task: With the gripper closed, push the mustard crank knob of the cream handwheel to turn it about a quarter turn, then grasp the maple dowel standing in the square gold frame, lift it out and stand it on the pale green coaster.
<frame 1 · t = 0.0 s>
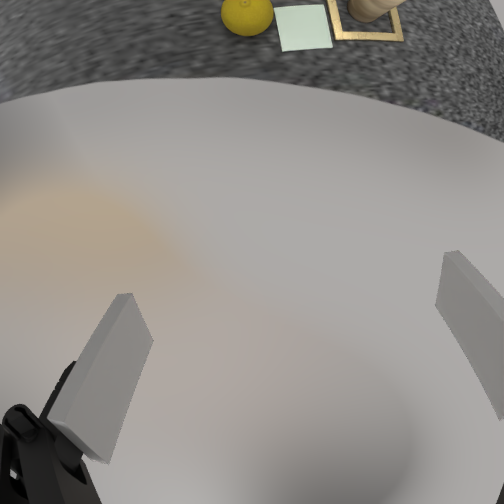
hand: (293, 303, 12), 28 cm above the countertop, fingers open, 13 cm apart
lemon: (249, 22, 29), on the countertop
square gold frame: (362, 9, 27), on the countertop
dowel: (362, 9, 27), resting in square gold frame
coaster: (303, 27, 29), on the countertop
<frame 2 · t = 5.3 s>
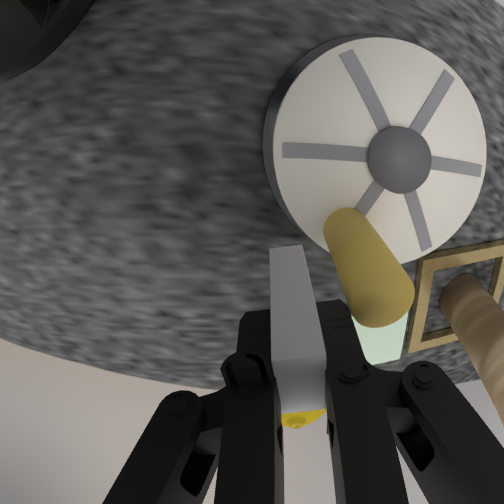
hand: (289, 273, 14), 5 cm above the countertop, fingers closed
lemon: (290, 333, 23), on the countertop
square gold frame: (459, 295, 20), on the countertop
wheel base: (376, 147, 16), on the countertop
handwheel: (416, 168, 11), point 5 cm above the countertop, hinge at 0.1°, touching gripper
dowel: (459, 295, 20), resting in square gold frame
coaster: (368, 338, 22), on the countertop
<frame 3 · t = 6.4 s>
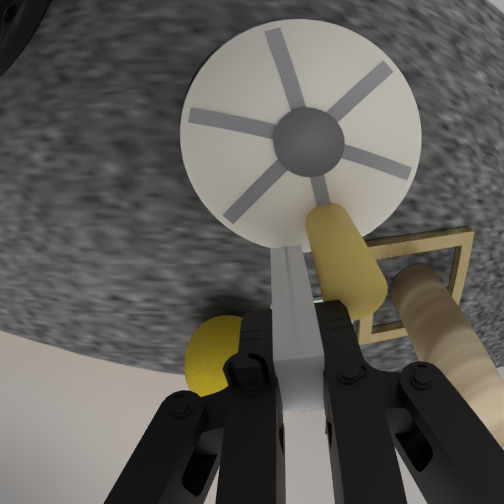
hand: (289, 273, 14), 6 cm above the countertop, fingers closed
lemon: (232, 319, 23), on the countertop
square gold frame: (413, 286, 21), on the countertop
wheel base: (300, 132, 16), on the countertop
handwheel: (314, 149, 12), point 5 cm above the countertop, hinge at 47.1°, touching gripper
dowel: (413, 286, 21), resting in square gold frame
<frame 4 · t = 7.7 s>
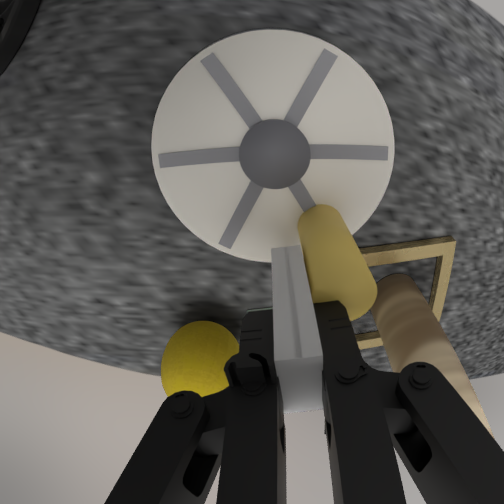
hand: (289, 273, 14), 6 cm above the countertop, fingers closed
lemon: (210, 325, 24), on the countertop
square gold frame: (392, 295, 21), on the countertop
handwheel: (275, 162, 12), point 5 cm above the countertop, hinge at 63.9°, touching gripper
dowel: (392, 295, 21), resting in square gold frame
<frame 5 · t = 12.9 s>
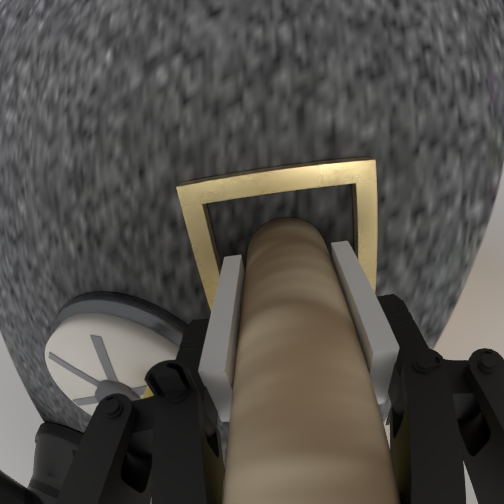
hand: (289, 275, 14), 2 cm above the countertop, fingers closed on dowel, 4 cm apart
square gold frame: (287, 253, 16), on the countertop
wheel base: (132, 363, 20), on the countertop
handwheel: (109, 420, 16), point 5 cm above the countertop, hinge at 58.3°
dowel: (286, 253, 16), resting in square gold frame, touching gripper
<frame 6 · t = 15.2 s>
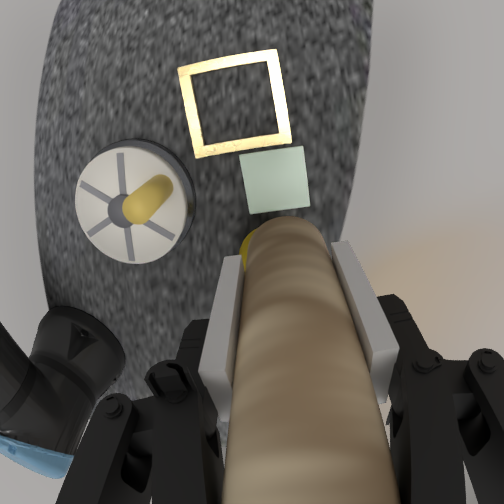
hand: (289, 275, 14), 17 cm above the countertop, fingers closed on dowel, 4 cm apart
square gold frame: (235, 102, 26), on the countertop
wheel base: (136, 199, 31), on the countertop
handwheel: (115, 218, 26), point 5 cm above the countertop, hinge at 58.3°
dowel: (286, 252, 16), point 15 cm above the countertop, touching gripper
coaster: (275, 179, 29), on the countertop
when the fingers open (4 cm above the countertop, at t = 17.7 s): dowel drops 1 cm, resting on coaster.
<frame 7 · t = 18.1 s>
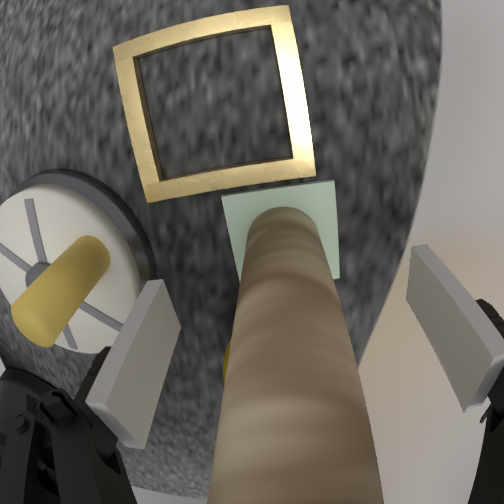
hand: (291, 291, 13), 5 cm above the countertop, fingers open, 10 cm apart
square gold frame: (213, 101, 14), on the countertop
wheel base: (72, 260, 19), on the countertop
handwheel: (31, 304, 14), point 5 cm above the countertop, hinge at 58.3°
dowel: (283, 240, 17), resting on coaster
coaster: (284, 236, 18), on the countertop
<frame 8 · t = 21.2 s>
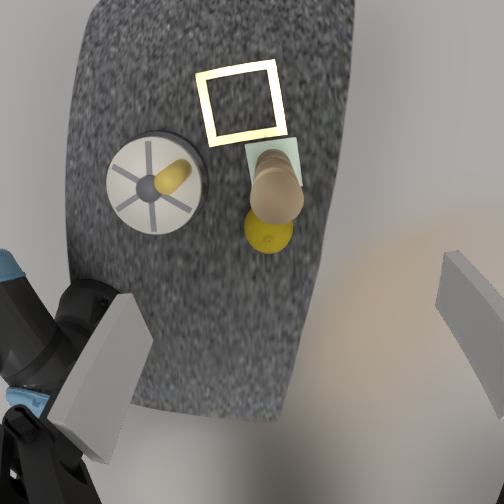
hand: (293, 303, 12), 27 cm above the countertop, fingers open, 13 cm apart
lemon: (268, 213, 39), on the countertop
square gold frame: (241, 102, 32), on the countertop
wheel base: (158, 181, 37), on the countertop
handwheel: (143, 193, 32), point 5 cm above the countertop, hinge at 58.3°
dowel: (273, 165, 35), resting on coaster
coaster: (274, 164, 36), on the countertop
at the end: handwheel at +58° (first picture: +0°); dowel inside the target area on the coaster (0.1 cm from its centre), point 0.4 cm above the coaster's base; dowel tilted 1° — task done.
